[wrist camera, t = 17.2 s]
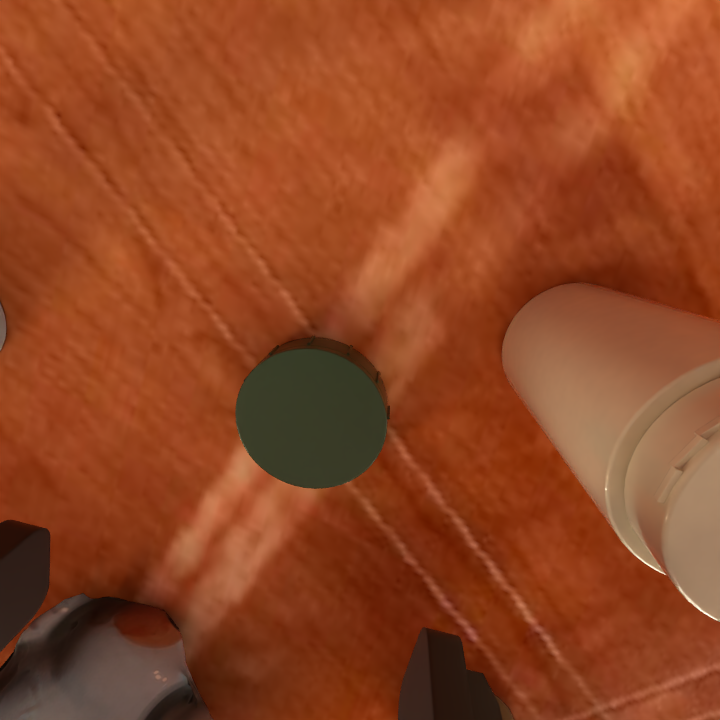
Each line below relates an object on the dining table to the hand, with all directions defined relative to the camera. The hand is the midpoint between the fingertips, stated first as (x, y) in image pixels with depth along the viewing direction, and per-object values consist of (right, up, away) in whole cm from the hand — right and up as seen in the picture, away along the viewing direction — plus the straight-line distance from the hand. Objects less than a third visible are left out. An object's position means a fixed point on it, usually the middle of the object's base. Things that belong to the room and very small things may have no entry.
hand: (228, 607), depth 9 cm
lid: (+1, +3, +8) cm, 9 cm away
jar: (+11, +6, +8) cm, 14 cm away
